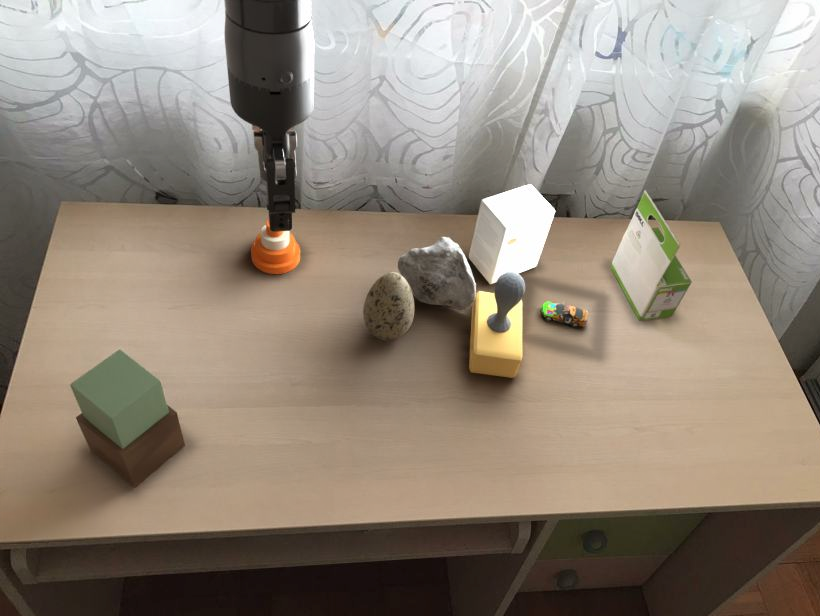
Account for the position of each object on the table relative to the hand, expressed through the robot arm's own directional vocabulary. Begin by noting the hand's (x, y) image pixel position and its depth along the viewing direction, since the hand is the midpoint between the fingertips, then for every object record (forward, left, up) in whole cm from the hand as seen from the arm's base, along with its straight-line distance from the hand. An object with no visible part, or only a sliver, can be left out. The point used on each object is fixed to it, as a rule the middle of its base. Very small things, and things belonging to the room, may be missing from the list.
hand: (276, 200), depth 78 cm
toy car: (+22, -28, -16) cm, 39 cm away
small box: (+25, -16, -16) cm, 34 cm away
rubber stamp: (+13, -23, -16) cm, 31 cm away
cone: (+5, +6, -16) cm, 18 cm away
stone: (+13, -13, -16) cm, 25 cm away
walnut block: (-24, -3, -16) cm, 29 cm away
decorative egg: (+5, -12, -16) cm, 21 cm away
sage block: (-24, -3, -10) cm, 26 cm away
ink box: (+34, -33, -16) cm, 50 cm away
